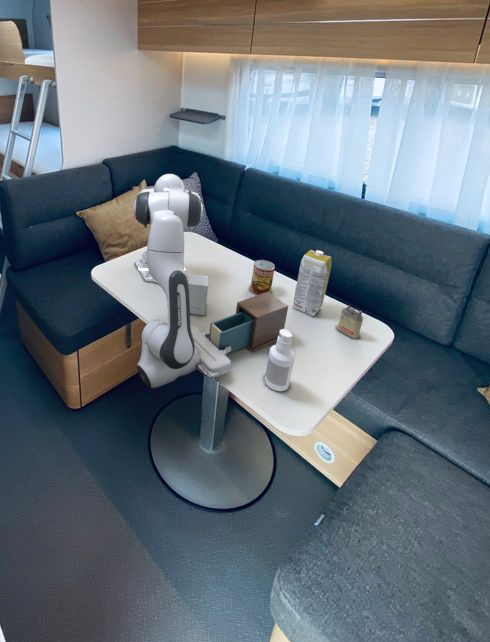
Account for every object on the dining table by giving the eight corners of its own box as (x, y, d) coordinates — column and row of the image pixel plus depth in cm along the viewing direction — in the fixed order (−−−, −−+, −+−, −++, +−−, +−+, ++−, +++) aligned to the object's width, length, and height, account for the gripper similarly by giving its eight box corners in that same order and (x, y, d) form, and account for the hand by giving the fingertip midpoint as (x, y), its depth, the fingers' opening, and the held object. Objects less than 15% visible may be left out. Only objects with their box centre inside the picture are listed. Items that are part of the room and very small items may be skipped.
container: (207, 345, 133) (210, 323, 130) (240, 333, 139) (243, 311, 136) (218, 356, 128) (221, 333, 125) (252, 343, 135) (255, 320, 132)
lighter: (335, 329, 144) (341, 305, 141) (340, 325, 147) (346, 301, 143) (355, 340, 139) (361, 315, 136) (360, 335, 141) (367, 311, 138)
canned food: (249, 293, 164) (253, 267, 160) (251, 283, 171) (255, 258, 166) (269, 298, 161) (274, 271, 157) (271, 287, 168) (275, 262, 164)
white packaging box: (205, 316, 149) (208, 286, 145) (184, 313, 151) (187, 283, 146) (205, 304, 156) (208, 275, 152) (186, 301, 157) (188, 273, 153)
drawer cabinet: (232, 333, 141) (236, 301, 136) (261, 321, 147) (267, 290, 143) (252, 351, 133) (258, 318, 128) (283, 338, 139) (289, 306, 134)
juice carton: (322, 309, 155) (335, 253, 146) (314, 319, 149) (327, 261, 141) (298, 299, 161) (309, 245, 152) (290, 308, 155) (301, 252, 147)
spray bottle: (261, 374, 124) (269, 325, 117) (282, 373, 124) (292, 324, 118) (269, 392, 117) (279, 341, 111) (292, 391, 118) (303, 340, 111)
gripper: (209, 371, 115) (246, 353, 122) (168, 329, 132) (202, 315, 138) (208, 388, 118) (244, 369, 124) (168, 344, 134) (202, 330, 141)
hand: (222, 340), depth 131 cm, fingers closed on container, 6 cm apart
